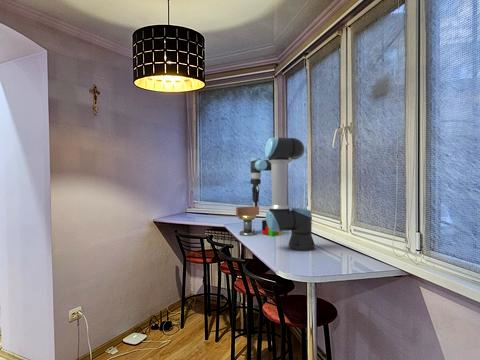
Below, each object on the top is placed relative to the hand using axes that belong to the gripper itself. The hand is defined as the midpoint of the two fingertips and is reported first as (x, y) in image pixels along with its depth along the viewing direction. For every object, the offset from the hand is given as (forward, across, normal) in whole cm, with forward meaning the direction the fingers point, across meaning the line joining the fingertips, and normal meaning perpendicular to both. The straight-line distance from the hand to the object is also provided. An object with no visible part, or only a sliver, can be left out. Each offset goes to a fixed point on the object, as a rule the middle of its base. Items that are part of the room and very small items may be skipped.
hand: (255, 210), depth 229 cm
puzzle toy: (+17, -7, -10) cm, 21 cm away
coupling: (+5, -3, +7) cm, 9 cm away
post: (+16, -3, +6) cm, 18 cm away
